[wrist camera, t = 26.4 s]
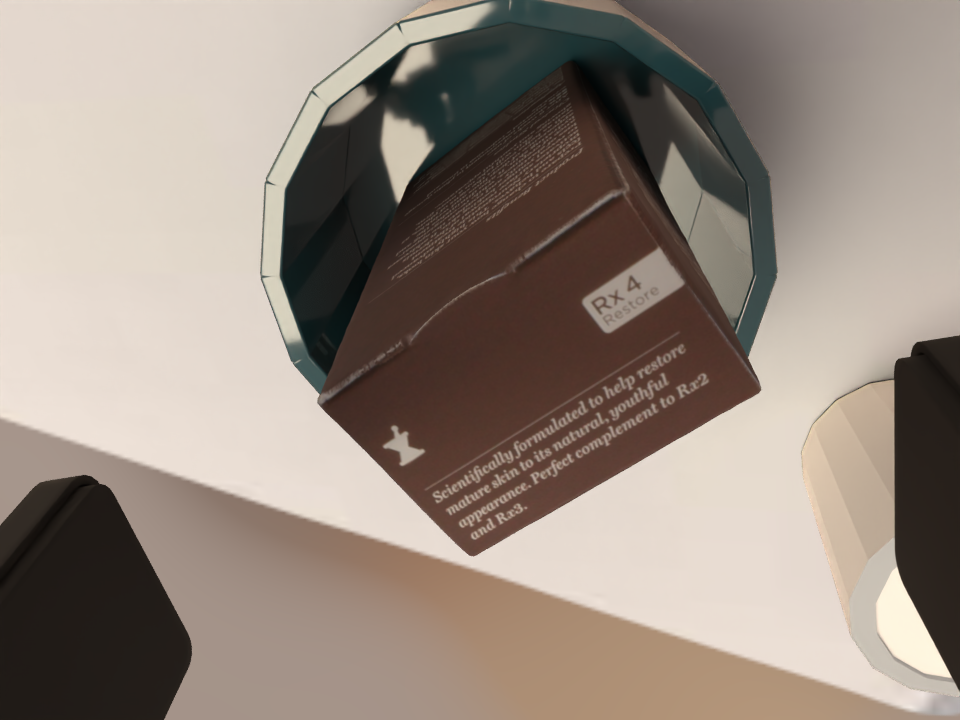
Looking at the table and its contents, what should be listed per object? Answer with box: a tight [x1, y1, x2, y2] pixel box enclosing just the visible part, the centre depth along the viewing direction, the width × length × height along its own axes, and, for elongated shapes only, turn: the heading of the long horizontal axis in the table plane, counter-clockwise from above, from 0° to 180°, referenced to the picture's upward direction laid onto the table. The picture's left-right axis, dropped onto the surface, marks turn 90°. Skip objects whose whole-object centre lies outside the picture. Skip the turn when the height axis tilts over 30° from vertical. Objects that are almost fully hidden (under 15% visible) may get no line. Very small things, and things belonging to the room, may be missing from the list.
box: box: [317, 61, 761, 556], centre depth 18 cm, size 6×4×12 cm
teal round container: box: [260, 0, 778, 394], centre depth 21 cm, size 11×11×7 cm
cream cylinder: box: [801, 380, 960, 697], centre depth 24 cm, size 7×7×7 cm
